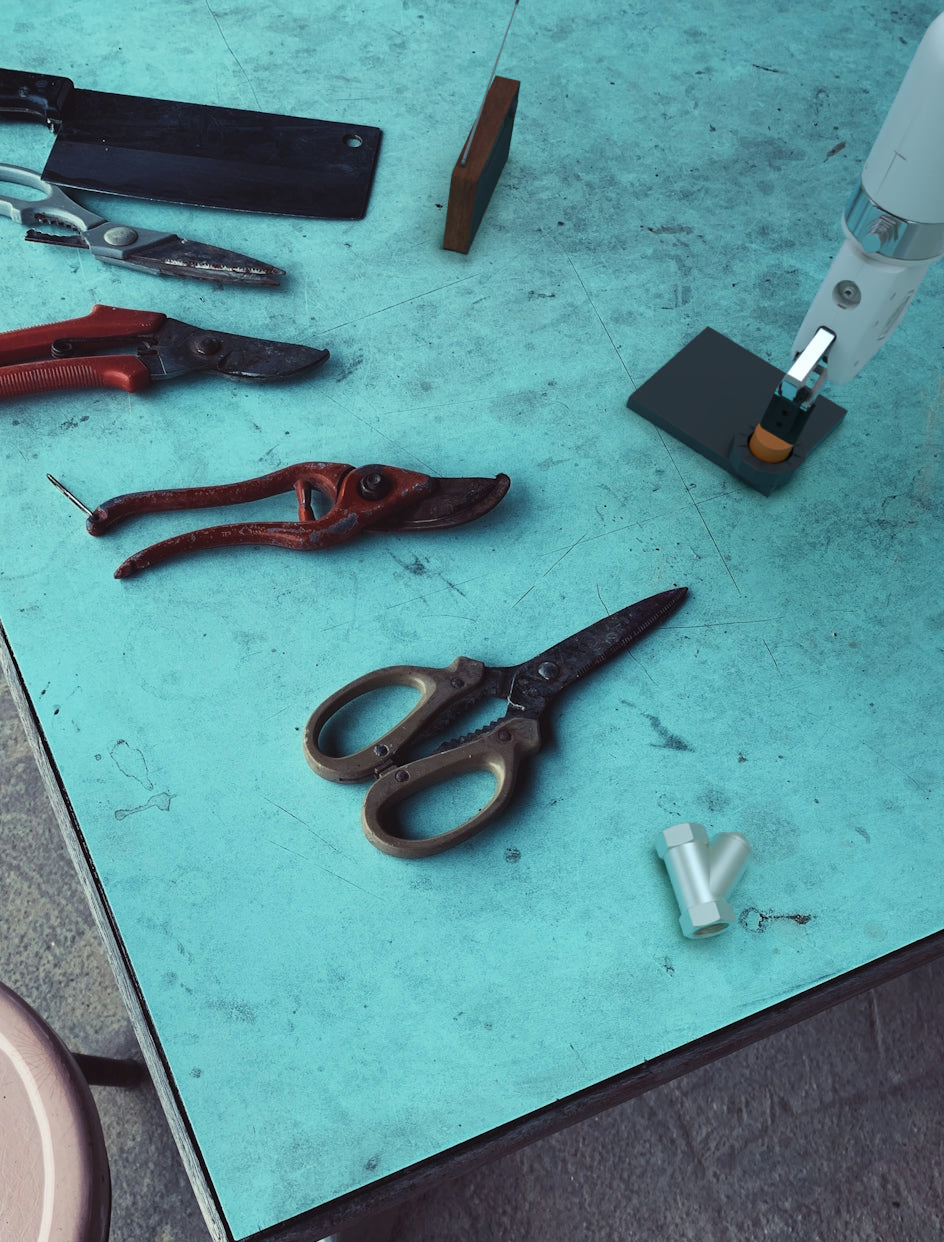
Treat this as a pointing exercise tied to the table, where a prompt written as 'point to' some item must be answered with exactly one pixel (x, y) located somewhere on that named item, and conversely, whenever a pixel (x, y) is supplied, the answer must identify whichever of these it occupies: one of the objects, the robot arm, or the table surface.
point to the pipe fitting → (703, 875)
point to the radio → (481, 160)
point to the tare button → (768, 446)
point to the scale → (727, 408)
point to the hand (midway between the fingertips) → (808, 400)
